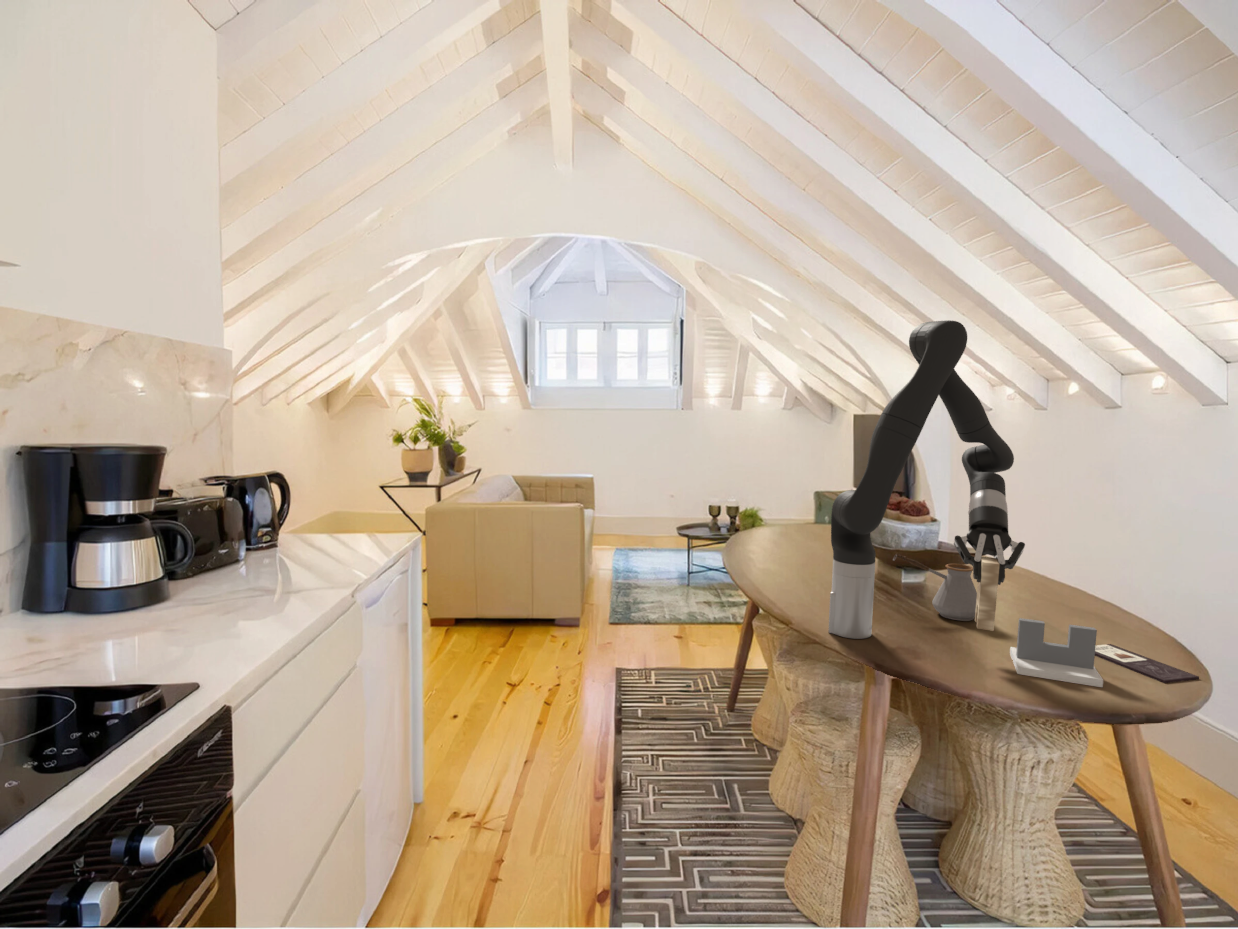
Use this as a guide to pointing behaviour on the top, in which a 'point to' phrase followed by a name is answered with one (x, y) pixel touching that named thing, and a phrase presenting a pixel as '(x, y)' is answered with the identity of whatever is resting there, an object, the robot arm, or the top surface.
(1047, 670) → the grey notched stand
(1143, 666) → the chocolate bar
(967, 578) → the coffee pot
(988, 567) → the birch slotted plate
